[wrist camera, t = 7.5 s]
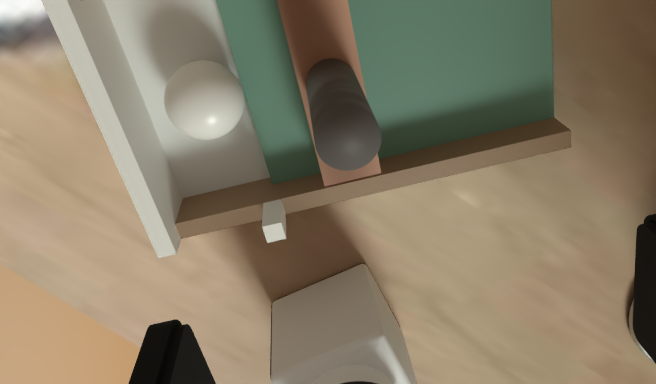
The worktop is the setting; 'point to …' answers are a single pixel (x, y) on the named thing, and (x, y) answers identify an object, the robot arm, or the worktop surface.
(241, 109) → the ball
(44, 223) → the worktop surface
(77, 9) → the pitch
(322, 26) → the striker
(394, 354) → the medicine bottle
